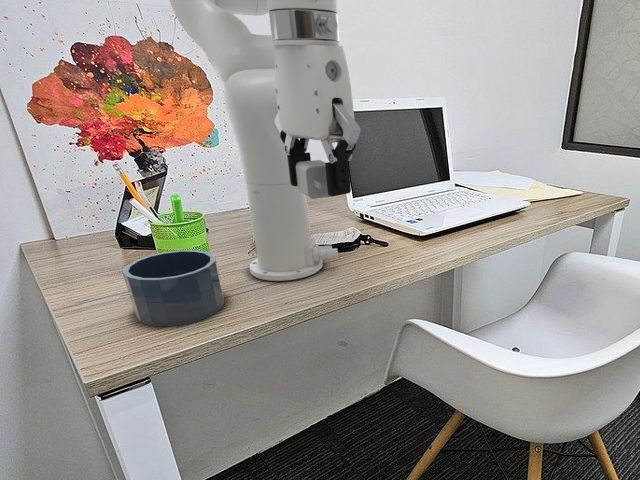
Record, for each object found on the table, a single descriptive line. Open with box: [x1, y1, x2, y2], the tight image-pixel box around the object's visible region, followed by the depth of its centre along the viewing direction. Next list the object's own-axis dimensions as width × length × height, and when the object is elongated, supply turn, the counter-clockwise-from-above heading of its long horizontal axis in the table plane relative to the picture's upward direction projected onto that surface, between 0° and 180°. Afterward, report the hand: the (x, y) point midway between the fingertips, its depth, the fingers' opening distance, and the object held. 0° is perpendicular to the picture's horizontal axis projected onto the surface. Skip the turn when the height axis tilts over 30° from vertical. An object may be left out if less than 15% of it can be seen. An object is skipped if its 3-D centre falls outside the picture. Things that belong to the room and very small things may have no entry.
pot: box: [122, 249, 225, 328], centre depth 69 cm, size 12×12×7 cm
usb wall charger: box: [296, 159, 334, 200], centre depth 61 cm, size 4×7×4 cm, turn 30°
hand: (320, 188), depth 62 cm, fingers closed on usb wall charger, 7 cm apart
